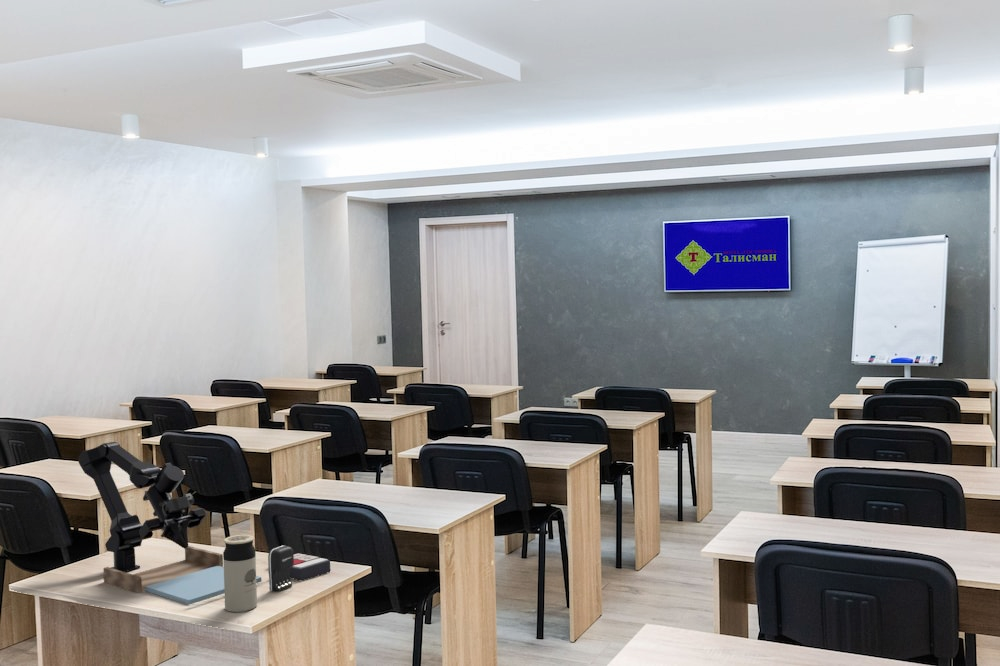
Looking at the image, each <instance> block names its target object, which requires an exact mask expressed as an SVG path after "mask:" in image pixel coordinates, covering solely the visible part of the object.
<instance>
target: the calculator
mask: <svg viewBox="0 0 1000 666" xmlns="http://www.w3.org/2000/svg"><path fill="white" fill-rule="evenodd" d="M293 555H294V564H293V565H291V567H290V578H291V579H292V578H294V579H293V580H295V579H297V580H296V581H299V580H303V581H305V580H304V579H306V580H308V578H309V579H312V578H315V577H314V576H316V577H318V575H319V576H322V575H325V574H328V573H327V572H329V573H331V572H330V571H331V561H330V560H329V559H327V558H321V557H319V556H315V555H308V554H305V553H304V554H302V553H295V554H294V553H293ZM324 573H325V574H324ZM321 574H322V575H321ZM311 577H312V578H311Z"/></svg>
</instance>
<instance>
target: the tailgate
mask: <svg viewBox="0 0 1000 666" xmlns="http://www.w3.org/2000/svg"><path fill="white" fill-rule="evenodd" d="M261 582H262V577H261V576H257V575H256V584H258V583H259V584H260V583H261ZM144 592H147V593H151V594H153V595H157V596H160V597H163V598H166V599H170V600H172V601H176V602H179V603H182V604H186V605H188V606H189V605H193V604H195V603H199V602H202V601H205V600H209V599H211V598H214V597H218V596H222V595H223V594H224V595H225V592H224V566H223V567H221V566H214V567H211V568H207V569H204V570H201V571H197V572H194V573H190V574H187V575H183V576H180V577H176V578H173V579H170V580H166V581H163V582H159V583H156V584H152V585H149V586H145V591H144Z"/></svg>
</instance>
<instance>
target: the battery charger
mask: <svg viewBox="0 0 1000 666" xmlns="http://www.w3.org/2000/svg"><path fill="white" fill-rule="evenodd" d="M267 556H268V559H267V560H268V563H267V564H268V581H269V591H271V592H282V591H284V590H286V589H289V588H291V587H292V586H293V582H292V578H291V577H290V567H291V565H293V564H294V550H293V548H292V547H291V546H287V545H281V546H277V547H274V548H272V549H271V550H269V552H268V555H267Z"/></svg>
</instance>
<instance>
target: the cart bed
mask: <svg viewBox="0 0 1000 666" xmlns="http://www.w3.org/2000/svg"><path fill="white" fill-rule="evenodd" d="M184 556H185V557H184V559H183V560H179V561H176V562H172V563H168V564H165V565H161V566H158V567H154V568H151V569H147V570H144V571H139V572H136V573H133V574H132V573H130V572H127V571H126V572H123V571H119V570H116V569H113V568H111V567H109V566H106V567H104V568H103V583H105V584H108V585H112V586H115V587H117V588H120V589H124V590H126V591H130V592H133V593H137V594H140V593H143V592H146V591H145V586H149V585H152V584H156V583H159V582H163V581H166V580H170V579H173V578H176V577H180V576H183V575H187V574H190V573H194V572H197V571H201V570H204V569H207V568H211V567H214V566H221V567H224V560H223V554H222V553H219V552H214V551H210V550H207V549H202V548H199V547H194V546H191V545H188V547H187V548H185V549H184Z"/></svg>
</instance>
